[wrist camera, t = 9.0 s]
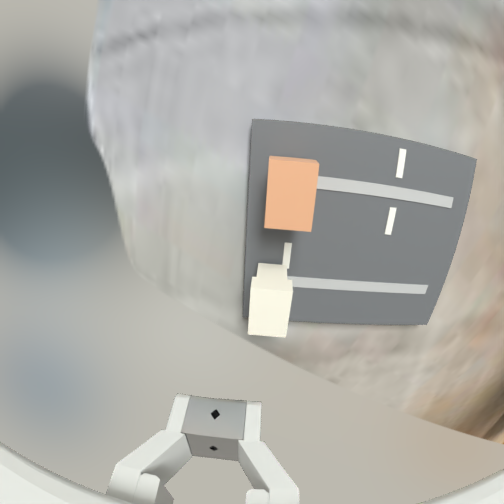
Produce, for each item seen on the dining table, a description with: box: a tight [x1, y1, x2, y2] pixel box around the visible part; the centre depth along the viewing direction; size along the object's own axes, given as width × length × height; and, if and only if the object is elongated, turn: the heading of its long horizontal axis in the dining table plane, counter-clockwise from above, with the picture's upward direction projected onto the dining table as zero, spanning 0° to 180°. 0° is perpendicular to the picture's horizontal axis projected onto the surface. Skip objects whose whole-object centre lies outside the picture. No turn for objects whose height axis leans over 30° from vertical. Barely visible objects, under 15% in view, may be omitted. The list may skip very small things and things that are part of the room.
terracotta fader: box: [264, 156, 319, 232], centre depth 20 cm, size 3×4×5 cm
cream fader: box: [248, 263, 293, 337], centre depth 24 cm, size 3×4×5 cm
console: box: [243, 119, 477, 325], centre depth 25 cm, size 20×18×2 cm
